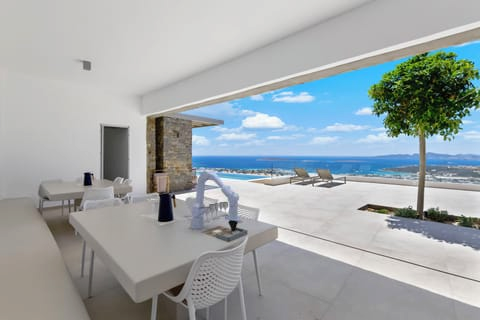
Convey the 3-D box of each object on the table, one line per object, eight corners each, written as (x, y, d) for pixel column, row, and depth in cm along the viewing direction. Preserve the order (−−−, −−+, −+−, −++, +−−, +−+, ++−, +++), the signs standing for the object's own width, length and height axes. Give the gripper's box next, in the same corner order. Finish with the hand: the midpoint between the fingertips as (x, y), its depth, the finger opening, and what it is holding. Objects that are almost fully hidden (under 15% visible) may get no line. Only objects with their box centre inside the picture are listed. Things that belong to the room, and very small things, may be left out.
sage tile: (231, 234, 152) (231, 231, 152) (236, 233, 155) (236, 230, 155) (235, 236, 149) (235, 233, 149) (241, 235, 152) (241, 232, 152)
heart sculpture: (203, 219, 190) (203, 197, 189) (199, 220, 186) (199, 198, 185) (189, 216, 198) (189, 195, 197) (185, 217, 193) (185, 196, 193)
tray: (216, 239, 145) (216, 233, 145) (235, 231, 159) (235, 226, 159) (228, 243, 138) (228, 237, 138) (247, 235, 152) (247, 230, 152)
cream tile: (212, 234, 151) (212, 231, 151) (217, 232, 155) (217, 229, 155) (217, 235, 148) (217, 232, 148) (222, 233, 152) (222, 230, 152)
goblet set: (207, 223, 178) (207, 206, 178) (202, 222, 181) (202, 205, 181) (229, 215, 201) (229, 200, 200) (224, 214, 204) (224, 200, 204)
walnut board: (200, 233, 155) (200, 232, 155) (219, 227, 169) (219, 225, 169) (216, 239, 145) (216, 237, 145) (235, 231, 159) (235, 230, 159)
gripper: (245, 212, 152) (245, 232, 153) (229, 208, 162) (229, 227, 162) (238, 214, 147) (238, 235, 147) (222, 210, 157) (222, 230, 157)
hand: (233, 231), depth 154 cm, fingers closed
